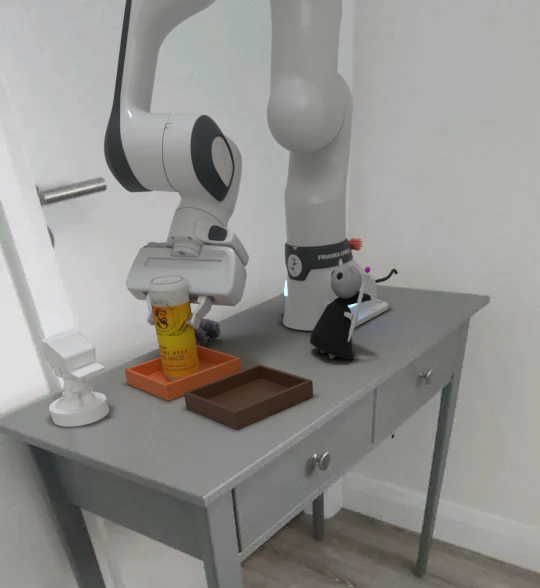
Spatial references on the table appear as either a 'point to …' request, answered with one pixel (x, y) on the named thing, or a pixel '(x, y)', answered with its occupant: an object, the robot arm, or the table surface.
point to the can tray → (159, 385)
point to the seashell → (206, 331)
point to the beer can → (173, 325)
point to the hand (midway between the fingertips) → (172, 325)
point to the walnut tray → (248, 395)
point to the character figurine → (74, 379)
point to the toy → (341, 312)
